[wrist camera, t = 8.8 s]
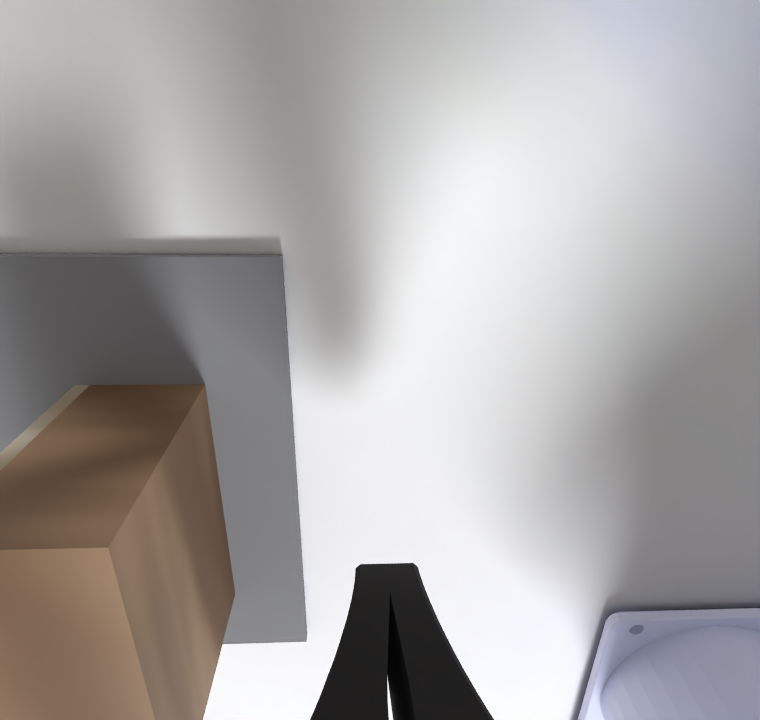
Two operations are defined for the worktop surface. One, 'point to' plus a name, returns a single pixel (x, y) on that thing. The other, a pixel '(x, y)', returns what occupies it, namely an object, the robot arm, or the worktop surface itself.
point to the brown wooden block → (113, 558)
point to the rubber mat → (176, 366)
